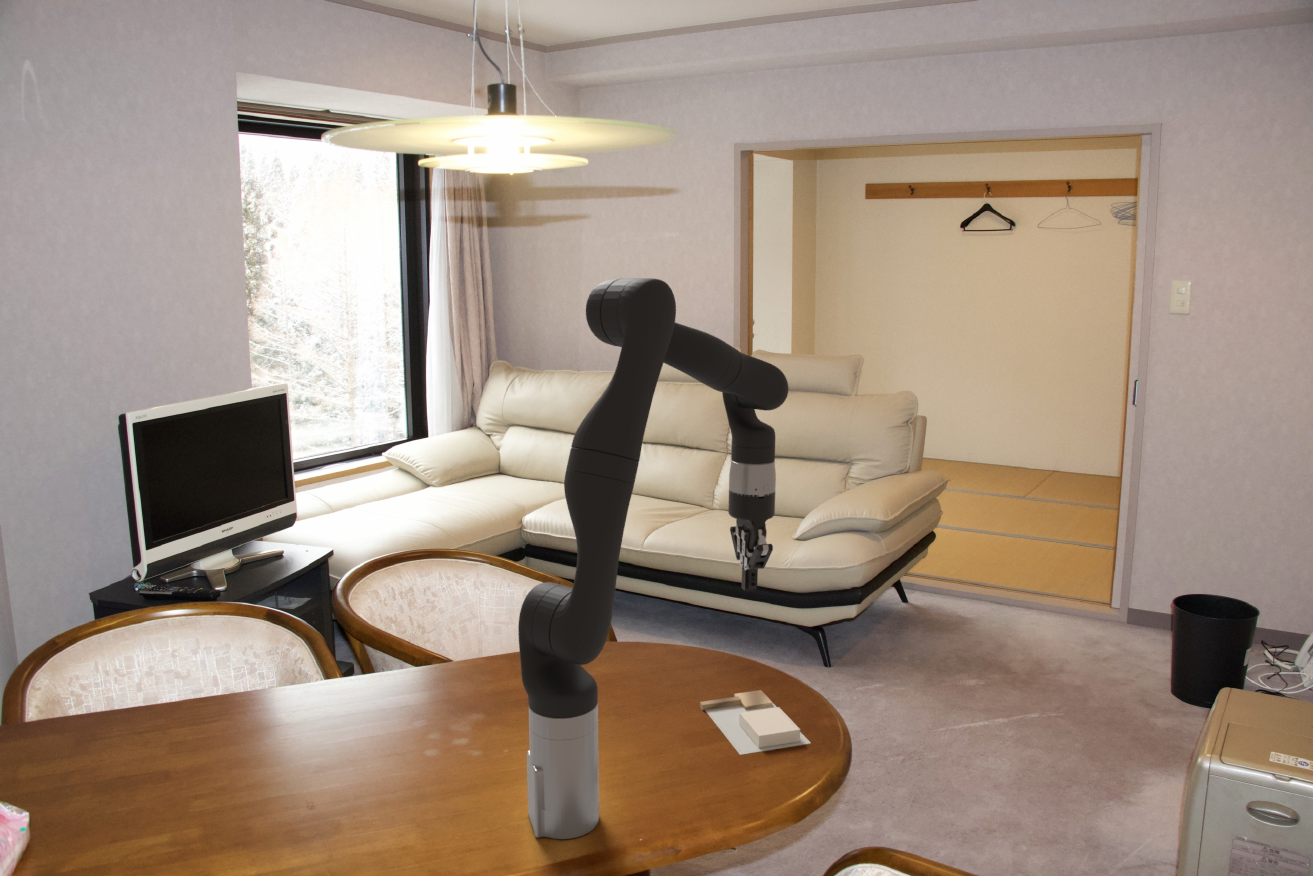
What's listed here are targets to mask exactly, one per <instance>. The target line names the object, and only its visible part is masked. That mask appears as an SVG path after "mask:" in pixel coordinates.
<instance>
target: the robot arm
mask: <svg viewBox="0 0 1313 876" xmlns="http://www.w3.org/2000/svg"><path fill="white" fill-rule="evenodd" d="M585 304H586V305H585V319H586V322H587V325H588V328H589V329H590V331H591V333H592V334H593V335H594V336H595V337H596V338H597V339H598V340H599V341H601V342H603V343H605V344H607V345H610V346H613V347H619V348H621V349H620V353H619V357H618V360H617V364H616V368H615V370H614V373H613V375H612V378H611V380H610V382H609V383H608V385H607V387H606V389H604V390H603V393H602V394H601V395H600V397H598V399H597V400H596V402H595V403H594V404H593V406H592V407H591V408H590V410H589V411H588V413H586V415H585V417H584V418H583V419H582V421H581V422H580V424H579V426H578V427H577V428H576V431H575V433H574V436H573V438H572V442H571V445H570V446H571V448H570V450H569V454H568V455H569V456H568V459H567V464H566V469H565V474H564V482H563V487H564V496H565V501H566V506H567V509H568V513H569V517H570V521H571V523H572V528H573V530H574V531H573V532H574V537H575V539H576V548H577V549H576V550H577V555H576V557H577V558H576V565H575V566H576V567H575V568H576V569H575V574H574V580H573V584H572V585H573V586H572V587H571V586H568V585H564V584H560V583H557V582H552V581H550V582H547V581H546V582H542V583H539V584H537V585H535V586H534V587H532V589H530V591H528V593H527V594H526V596H525V598H524V600H523V602H522V605H521V607H520V610H519V611H520V612H519V615H518V627H517V628H518V629H517V630H518V634H517V635H518V646H519V647H518V648H519V657H520V658H519V659H520V660H519V661H520V673H521V681H522V685H523V688H524V691H525V692H526V694H527V699H528V702H527V703H528V731H529V733H528V737H529V741H528V743H529V750H527V751H526V777H527V780H526V781H527V783H526V785H527V815H528V817H529V820H530V823H531V827H532V830H533V832H534V837H536V838H544V837H545V838H550V839H555V840H567V839H568V840H569V839H574V838H579V837H582V836H584V835H586V834H588V833H590V832H591V831H593V830H594V829H595V828H596V826H598V823H599V819H600V801H599V800H600V791H599V783H600V782H599V781H600V780H599V779H600V778H599V776H600V775H599V691H598V690H599V688H598V684H597V681H596V678H594V677H593V676H592V675H591V673H590V672H588V671H587V670H586V668H584V667H583V666H584V665H588V664H591V662H594V660H596V658H597V657H598V656H599V655H600V654H601V652H603V651H602V650H603V648H604V647H605V644H606V642H607V641H608V637H609V633H610V629H611V625H612V618H613V613H614V603H615V596H616V588H617V578H618V569H619V560H620V554H621V548H622V543H623V538H624V531H625V526H626V521H627V517H628V511H629V506H630V504H631V503H630V502H631V499H632V495H633V491H634V486H635V481H636V478H637V472H638V469H639V463H640V458H641V452H642V446H643V442H644V436H645V432H646V428H647V425H648V424H647V423H648V419H649V415H650V411H651V406H652V404H653V403H652V402H653V400H654V395H655V392H656V388H657V384H658V382H659V378H660V375H661V371H662V368H663V365H664V364H665V365H668V366H670V367H672V368H674V369H676V370H678V371H680V372H682V373H684V374H685V375H687V376H689V377H691V378H693V379H695V380H696V381H698V382H699V383H701V384H704V385H705V386H707V387H708V388H710V389H713V390H715V391H716V392H720V393H722V400H723V405H724V408H725V412H726V416H727V423H728V426H729V429H730V434H731V449H730V450H731V452H730V454H731V456H730V467H729V475H728V515H729V516H730V517H731V518H733V519H736V520H735V521H736V522H735V524H736V525H734V526H730V528H729V532H730V536H731V541H732V545H733V549H734V554H735V558H736V560H737V561H739V565H740V567H741V589H742V590H743V591H745V592H755V591H756V590H757V589H758V576H759V574H758V571H759V570H761V569H765V567H766V566H767V563H768V561H769V559H770V557H771V555H772V553H773V550H774V546H773V544H772V543H767V527H766V526H767V524H766V522H767V521H768V520H770V519H772V518H773V517H774V516H775V512H776V510H775V509H776V485H777V482H776V481H777V479H776V478H777V472H776V462H775V460H776V432H775V429H774V428H773V427H772V426H771V425H769V424H767V423H765V422H763V421H762V420H760V419H759V418H758V416H757V413H756V410H759V411H772V410H773V411H774V410H776V409H778V408H780V407H781V406H782V405H783V404H784V403H785V401H786V400H787V398H788V396H789V395H788V394H789V382H788V379H787V377H786V375H785V374H784V372H783V371H782V370H781V369H780V368H779V367H777V366H775V364H772V363H771V362H767V361H765V360H763V359H759V358H757V357H755V356H751V355H748V354H745V353H742V352H741V351H739V350H738V349H737V348H736V347H733V346H732V345H730V344H729V343H727V342H726V341H724V340H722V339H721V338H719V337H717V336H715V335H712V334H711V333H708V332H705V331H702V330H699V329H696V328H694V327H690V326H688V325H687V326H686V325H683V324H681V323H677V322H676V318H677V317H676V316H677V313H676V312H677V304H676V298H675V294H674V292H673V290H672V288H671V287H670V285H669V284H668V283H667V282H666V281H664V280H662V279H659V278H654V277H653V278H650V277H648V278H647V277H646V278H645V277H644V278H642V277H639V278H613V279H612V278H611V279H609V280H608V279H607V280H604V281H603V282H602V281H601V282H600V283H599V284H597V285H596V286H595V287H594V288H593V289H592V290H591V291H590V293H589V295H588V298H587V300H586V303H585Z"/></svg>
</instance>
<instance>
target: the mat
mask: <svg viewBox="0 0 1313 876" xmlns="http://www.w3.org/2000/svg"><path fill="white" fill-rule="evenodd" d="M776 707H777V705H776V704H775V703H773V706H768V707H761V708H755V709H748V710H745V709H744V708H743V707H742V706H741V705H737V706H730V707H723V708H717V709H710V710H704V711H705V712H706V714H707V715H708V716H709V717H710V719H711V720H712V721H713V722H714V724H715V725H716V727H718V729H719V730H720V732H721V733H723V736H725V738H726V739H727V740H728V741H729V743H730V744H731V745H732V747H733V748H734V750H736V752H737V753H738V754H739V755H740V756H742V755H747V754H748V755H749V754H754V753H761V752H767V751H775V750H777V749H778V750H779V749H785V748H791V747H797V746H803V745H809V744H810V745H811V741H810V740H809V739H808V738H807V737H806V736H805V735H804V734H803V732H801V731H800V741H799V742H792V743H786V744H780V745H774V746H767V747H761V748H759V747H758V746H757V745H756V744H755V743H754V741H753V740H752V739H751V738H750V737H749V735H748V734H747V733H746V732H745V731H744V729H743V728H742V727H741V726H740V725H739V713H742V712H749V711H756V710H763V709H769V708H776Z"/></svg>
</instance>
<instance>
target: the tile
mask: <svg viewBox="0 0 1313 876" xmlns="http://www.w3.org/2000/svg"><path fill="white" fill-rule="evenodd" d="M739 725H740V726H741V727H742V728H743V729H744V731H745V732H746V733H747V734H748V735H749V737H750V738H751V739H752V740H753V741H754V743H755V744H756V745H757V746H758V747H759V748H761V747H767V746H774V745H780V744H786V743H792V742H799V741H800V732H801V728H800V727H799V726H797V724H796V723H795V722H794V721H793V720H792V719H791V718H790V717H789V716H788V715H787V714H786V713H785V712H784V711H783V709H781V707H780V706H778V707H777V706H776V708H769V709H763V710H756V711H749V712H742V713H739Z"/></svg>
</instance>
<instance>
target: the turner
mask: <svg viewBox="0 0 1313 876" xmlns="http://www.w3.org/2000/svg"><path fill="white" fill-rule="evenodd" d="M773 704H774V703H773V701H772V700H771V698H769V697H768V696H767V695H766V693H764V692H763V691H762V690H761V689H760V690H753V691H745V692H737V693H734V694H733V697H731V696H730V697H725V698H717V699H710V700H704V701H700V702H699V708H700V710H701V711H702V712H703V711H705V710H710V709H717V708H723V707H730V706H737V705H741V706H742V707H743V708H744V709H745V710H748V709H755V708H761V707H768V706H773Z"/></svg>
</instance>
